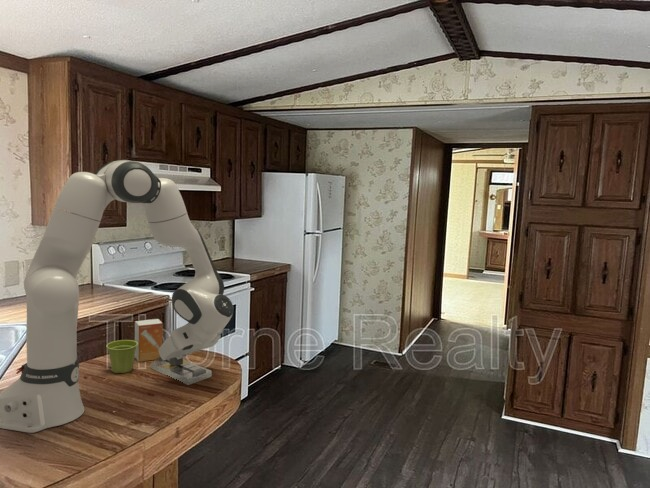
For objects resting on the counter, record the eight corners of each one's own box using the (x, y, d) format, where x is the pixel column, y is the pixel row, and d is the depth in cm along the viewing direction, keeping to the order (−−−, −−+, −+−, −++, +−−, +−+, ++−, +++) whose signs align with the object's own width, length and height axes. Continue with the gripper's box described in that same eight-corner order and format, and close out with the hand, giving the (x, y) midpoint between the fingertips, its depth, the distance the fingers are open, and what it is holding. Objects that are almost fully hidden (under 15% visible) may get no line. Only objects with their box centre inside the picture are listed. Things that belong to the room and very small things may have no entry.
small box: (138, 362, 161) (138, 325, 160) (134, 357, 166) (134, 320, 165) (162, 359, 166) (163, 322, 164) (158, 353, 171) (158, 318, 170)
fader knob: (183, 363, 156) (183, 339, 155) (174, 366, 153) (175, 341, 152) (177, 361, 158) (177, 337, 157) (169, 363, 155) (169, 339, 154)
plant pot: (143, 369, 156) (144, 343, 155) (118, 378, 148) (117, 351, 147) (126, 362, 161) (126, 338, 160) (100, 371, 153) (100, 344, 152)
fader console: (212, 377, 151) (212, 367, 151) (188, 385, 144) (188, 375, 144) (173, 361, 164) (173, 352, 164) (150, 368, 157) (150, 359, 156)
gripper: (221, 319, 156) (202, 341, 163) (167, 331, 140) (148, 355, 147) (230, 335, 154) (210, 357, 161) (176, 349, 138) (156, 373, 145)
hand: (180, 356), depth 154 cm, fingers closed, pressing on fader knob
